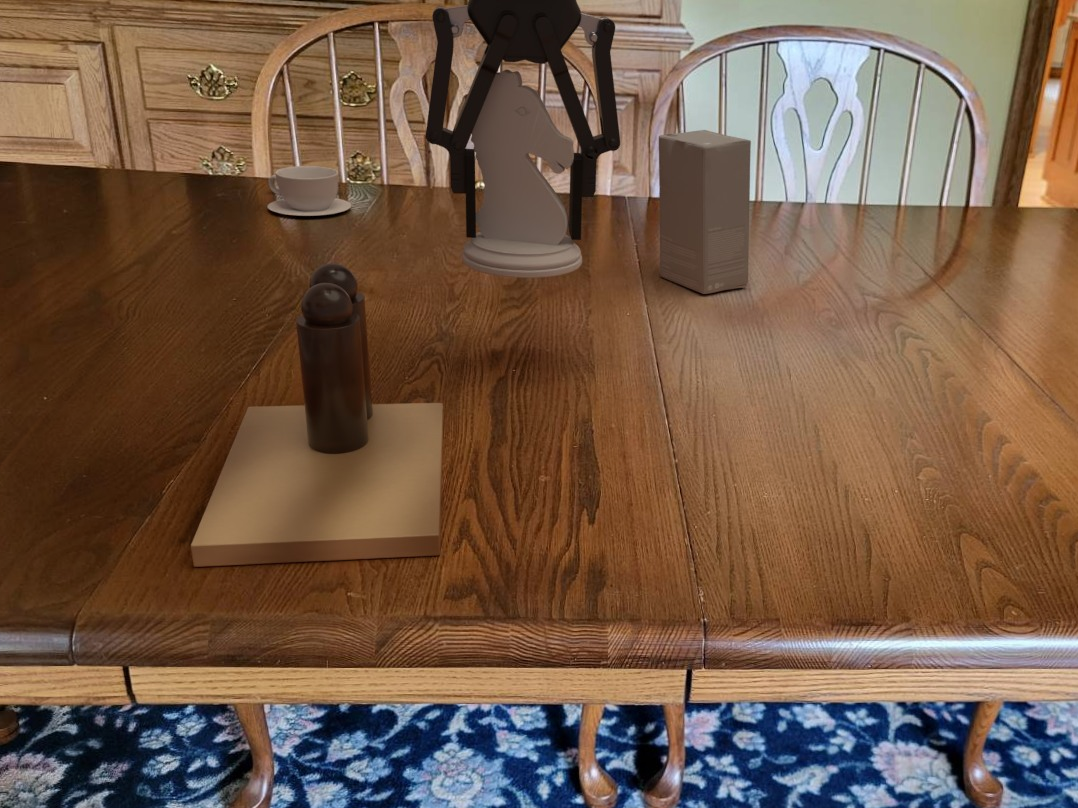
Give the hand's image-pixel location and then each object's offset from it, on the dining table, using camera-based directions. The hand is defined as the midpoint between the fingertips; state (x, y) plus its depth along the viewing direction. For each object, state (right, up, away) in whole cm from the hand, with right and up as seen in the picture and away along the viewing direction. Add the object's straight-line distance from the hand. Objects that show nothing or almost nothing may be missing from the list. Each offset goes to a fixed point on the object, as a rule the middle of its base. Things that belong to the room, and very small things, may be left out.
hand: (523, 234), depth 90 cm
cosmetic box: (+14, 0, +30) cm, 34 cm away
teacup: (-34, +12, +48) cm, 60 cm away
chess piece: (0, -2, +1) cm, 2 cm away
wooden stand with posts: (-10, -20, -16) cm, 28 cm away
